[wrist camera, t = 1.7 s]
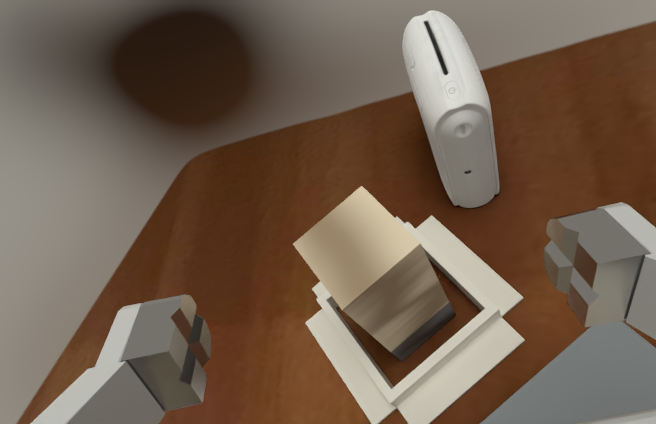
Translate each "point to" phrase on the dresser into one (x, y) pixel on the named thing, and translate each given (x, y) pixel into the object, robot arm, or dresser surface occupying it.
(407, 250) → the block
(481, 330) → the flanged square frame
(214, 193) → the dresser surface
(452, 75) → the photo printer
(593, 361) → the slate mat
